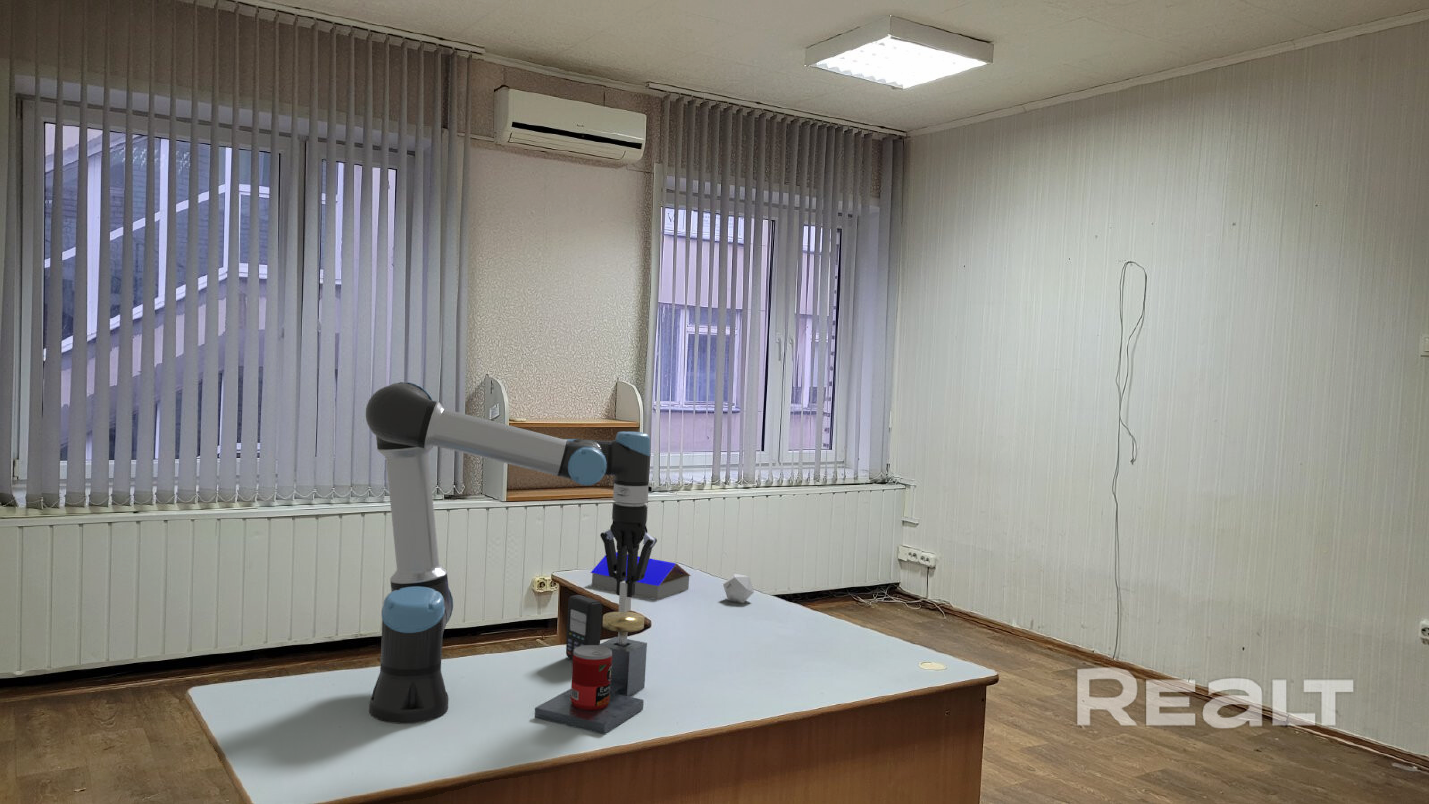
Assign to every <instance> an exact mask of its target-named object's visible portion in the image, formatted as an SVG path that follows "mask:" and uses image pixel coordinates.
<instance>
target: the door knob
mask: <svg viewBox="0 0 1429 804" xmlns="http://www.w3.org/2000/svg"><path fill="white" fill-rule="evenodd" d="M601 627H603V629H606V630H607V631H611V632H618V633H617V637H618V646H622V647H626V646H627V639H628V633H632V632H638V631H641V630H643V629H644V627H645V616H644V615H643V614H641V613H637V612H632V611H628V612H625V613H623V612H619V611H612V612H611V611H610V612H607V613H605V614H602V624H601Z"/></svg>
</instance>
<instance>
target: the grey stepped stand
mask: <svg viewBox="0 0 1429 804" xmlns="http://www.w3.org/2000/svg"><path fill="white" fill-rule="evenodd" d="M597 646H603V647H607V648H609V649H611V650H612V668H611V684H610V700H609V703H608V705H607V706H606V707H605V708H602V709H598V710H585V709H580V708H577V707H575V706H573V704H572V702H571V688H570V689H568V690H566V691H563V692H562V693H560V694H558V695H557V696H554V697H552V698H551V699H548V700H547V701H544V702H543V703H541V704H540V705H537V706H535V707H534V718H535V719H539V720H543V721H548V722H552V723H556V724H559V725H565V726H569V727H573V728H577V729H582V730H585V731H590V732H593V733H596V734H597V733H598V734H601V735H605V734H607V733H609V732H610V731H613V729H614V728H616V727H618V726H619V725H621V724H623V723H624V722H626V721H627V720H629V719H630V718H632V717H634V716H635V715H637V714H639V713H640V712H641V711H643V710H644V701H645V699H642V698H638V697H637V698H636V697H632V695H635V694H636V693H638V692H639V691H640V690H643V689H644V688H645V683H646V666H647V665H646V664H647V647H648V642H644V641H639V640H633V639H628V638H627V646H626V647H622V646H618V636H614V637H612V638H610V639H608V640H606V641H603V642H602V643H601V642H600V644H599V645H597Z"/></svg>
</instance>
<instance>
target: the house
mask: <svg viewBox="0 0 1429 804" xmlns="http://www.w3.org/2000/svg"><path fill="white" fill-rule="evenodd" d="M616 556H617V551H616ZM639 558H640V555H638V562H639ZM627 560H628V553H627ZM638 562H637V565H638ZM590 574H591V575H592V576H591V587H593V588H598V589H604V590H608V591H612V592H616V588H617V580H616V579H615V578H613V577H610V576H609V572H608V566H607V559H606V554H605V555H604V556H603V557H602V559H600V561H599V562H598V564H596V565H595V566H594V568H593V569H592V570H591V571H590ZM626 576H627V570H626ZM690 577H692V574H690V573H688V572H687V571H686V570H685V569H684V568H682V567H681V566H680V565H679V564H678V563H676V562H671V561H665V560H660V559H656V558H655V559H654V558H649V561H648V565H647V569H646V572H645V576H644V578H643V579H642V580H639V581H636V583H635V595H634V596H637V597H643V598H645V599H652V600H656V601H658V600H662V599H664V598H668V597H670V596H674V595H676V594H679V593H682V592H685V591H688V590H689V587H690V586H689V584H690ZM625 580H627V578H626V579H625Z"/></svg>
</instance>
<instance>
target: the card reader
mask: <svg viewBox="0 0 1429 804" xmlns="http://www.w3.org/2000/svg"><path fill="white" fill-rule="evenodd" d="M602 620H603V604H602V603H601V601H599V600H596V599H594V598H590V597H587V596H585V595H582V594H575V595H571V596H569V598H568V603H567V623H566V641H565V642H566V643H565V644H566V646H565V649H566V650H565V655H566V656H567V658H568V659H570V660H572V661H573V651H574V649H575V648H576V647H579V646H584V645H599V644H601V634H602V633H601V632H602Z"/></svg>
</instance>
